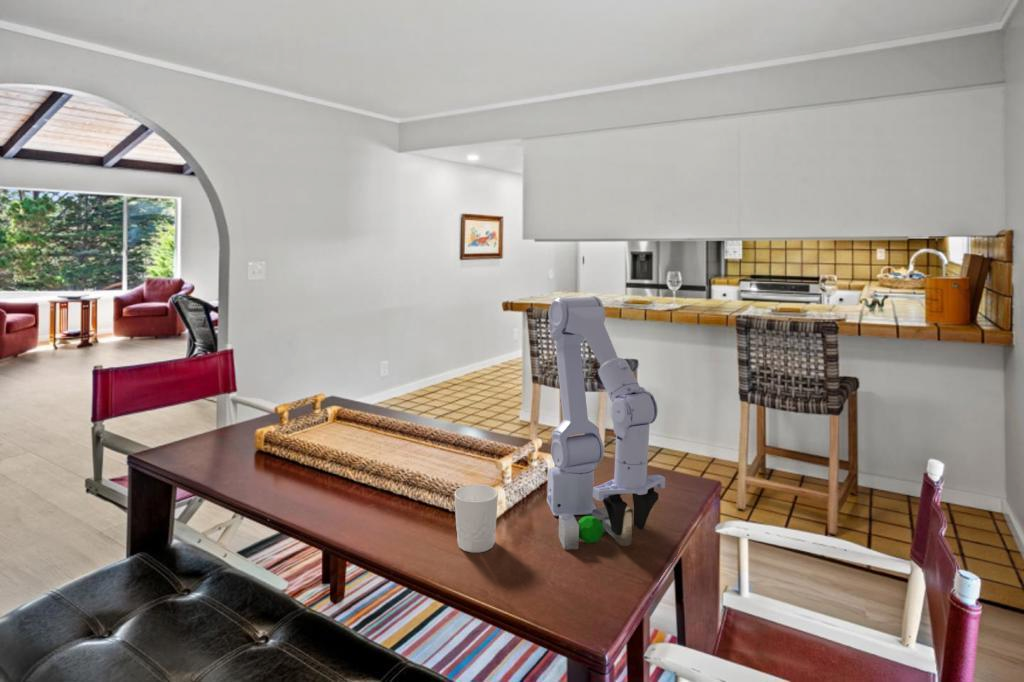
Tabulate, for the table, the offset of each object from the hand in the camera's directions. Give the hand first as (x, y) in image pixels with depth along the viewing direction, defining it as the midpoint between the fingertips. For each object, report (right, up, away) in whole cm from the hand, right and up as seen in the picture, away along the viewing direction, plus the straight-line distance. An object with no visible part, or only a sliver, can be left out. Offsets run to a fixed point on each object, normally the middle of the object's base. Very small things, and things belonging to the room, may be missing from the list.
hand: (627, 530), depth 112 cm
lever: (-2, -1, +4) cm, 5 cm away
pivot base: (-3, -2, +8) cm, 9 cm away
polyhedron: (-7, -3, +3) cm, 8 cm away
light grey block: (-11, -3, +2) cm, 11 cm away
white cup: (-28, -3, +1) cm, 28 cm away
